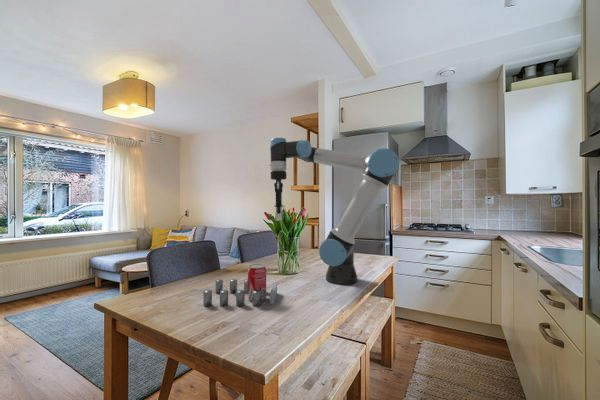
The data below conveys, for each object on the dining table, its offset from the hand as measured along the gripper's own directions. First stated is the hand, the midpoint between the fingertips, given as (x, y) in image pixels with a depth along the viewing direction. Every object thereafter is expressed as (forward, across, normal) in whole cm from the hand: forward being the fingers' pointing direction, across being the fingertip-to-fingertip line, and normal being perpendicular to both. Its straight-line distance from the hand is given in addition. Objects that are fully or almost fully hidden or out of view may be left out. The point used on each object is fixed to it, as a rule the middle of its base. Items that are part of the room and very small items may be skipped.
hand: (278, 220), depth 128 cm
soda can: (+29, +23, -8) cm, 38 cm away
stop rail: (+29, +22, -1) cm, 37 cm away
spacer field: (+29, +22, -16) cm, 39 cm away
